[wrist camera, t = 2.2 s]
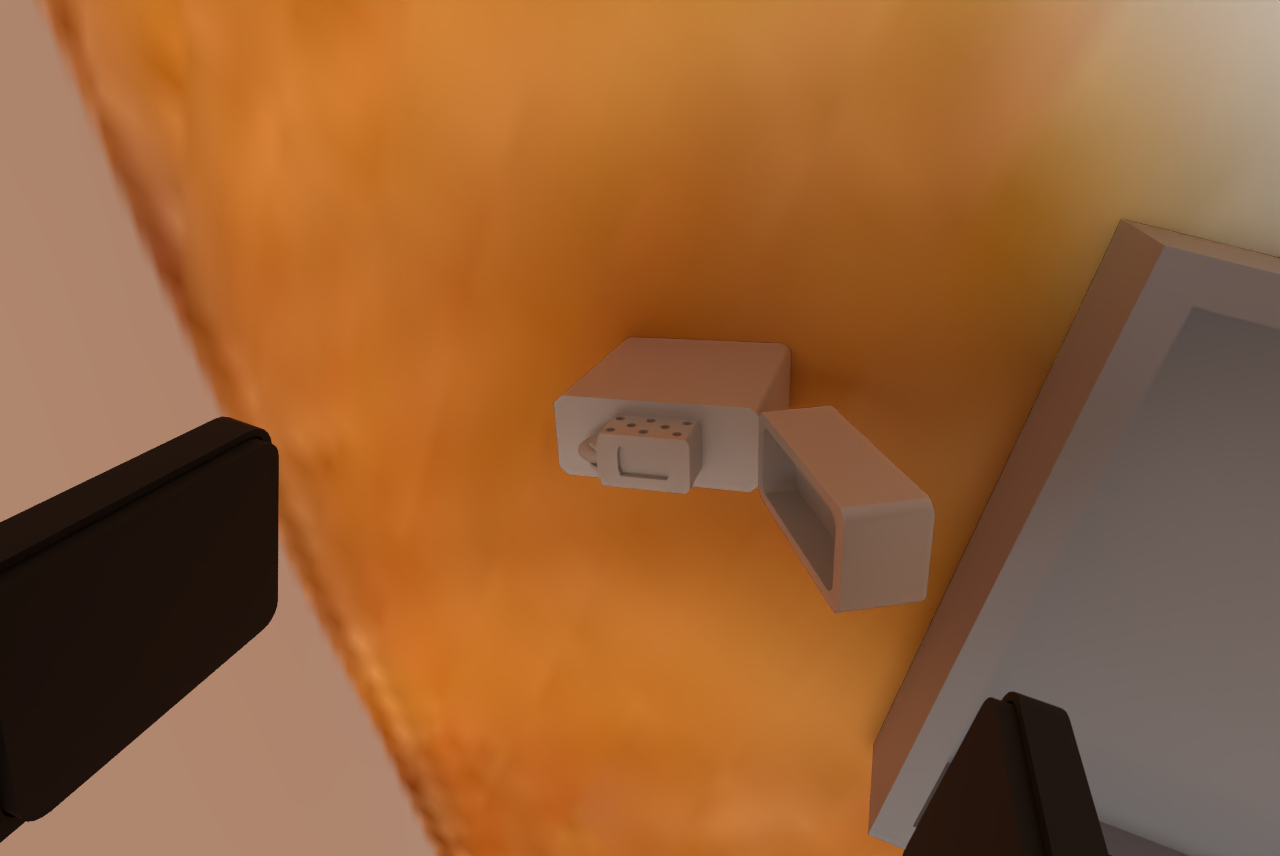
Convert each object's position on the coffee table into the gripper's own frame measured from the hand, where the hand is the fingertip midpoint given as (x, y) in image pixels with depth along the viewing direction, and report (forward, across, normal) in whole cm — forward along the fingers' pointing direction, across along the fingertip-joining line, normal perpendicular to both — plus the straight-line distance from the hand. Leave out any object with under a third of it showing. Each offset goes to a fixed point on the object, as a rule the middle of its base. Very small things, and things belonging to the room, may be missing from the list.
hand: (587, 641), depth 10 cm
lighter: (+10, -1, 0) cm, 11 cm away
